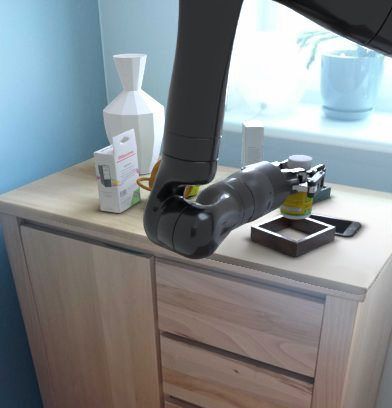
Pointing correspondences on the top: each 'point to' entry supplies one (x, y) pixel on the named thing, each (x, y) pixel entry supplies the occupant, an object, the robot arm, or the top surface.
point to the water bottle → (188, 192)
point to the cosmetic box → (252, 142)
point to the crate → (294, 248)
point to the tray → (322, 194)
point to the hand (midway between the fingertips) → (306, 167)
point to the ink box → (118, 174)
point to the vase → (135, 112)
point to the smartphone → (339, 225)
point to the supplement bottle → (299, 202)
